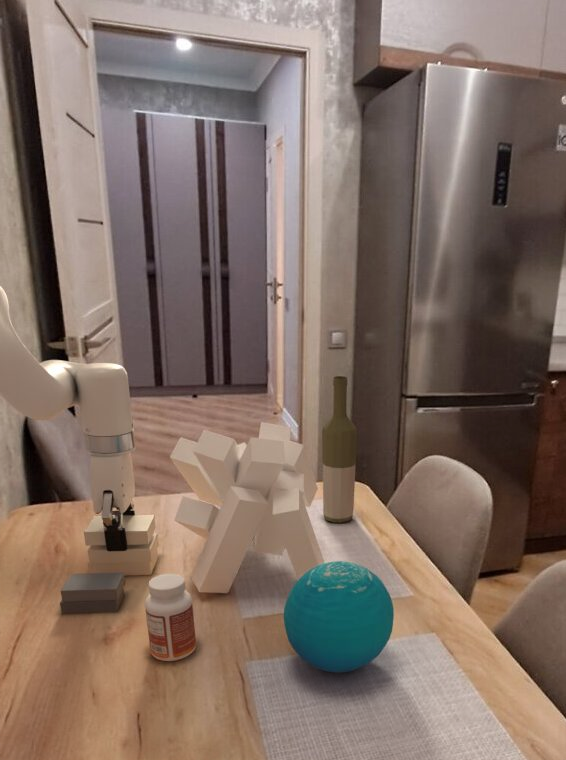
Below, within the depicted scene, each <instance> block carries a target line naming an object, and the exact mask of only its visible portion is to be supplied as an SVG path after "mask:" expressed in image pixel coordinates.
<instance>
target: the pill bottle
mask: <svg viewBox="0 0 566 760" xmlns="http://www.w3.org/2000/svg"><path fill="white" fill-rule="evenodd" d="M148 592H149V593H148V594H149V595H148V596H147V597H146V599H145V601H144V609H145V617H146V624H147V634H148V643H149V650H150V653H151V655H152V657H154V658H155V659H157V660H159V661H162V662H174V661H179V660H183V659H185V658H187V657H189V656H190V655H191V654H192V653H194V651H195V650H196V647H197V637H196V628H195V627H196V625H195V618H194V615H195V614H194V606H193V599H192V598H193V597H192V596H191V593H189V591H187V590H186V580H185V578H184V576H183V575H181V574H177V573H164V574H163V573H162V574H159V575H156V576H154V577H152V578H151V579H150V580H149V581H148Z"/></svg>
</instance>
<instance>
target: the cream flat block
mask: <svg viewBox="0 0 566 760" xmlns="http://www.w3.org/2000/svg"><path fill="white" fill-rule="evenodd" d="M113 518H115V519H116V520H117V522H118V516H115V515H113ZM156 527H157V526H156V516H155V514H135V515H124V516H123V528H125V532H126V540H127V545H138V544H149V542H150V540H151V537H152V535H153V533H155V530H156ZM83 537H84V543H85V544H84V545H85V547H87V546H88V547H89V546H93V545H106V542H105V534H104V528H103V520H102V515H94V516H93V518H92V519H91V520H90V522H89V523H88V525H87V527H86V528H85V530H83Z"/></svg>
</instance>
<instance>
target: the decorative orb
mask: <svg viewBox="0 0 566 760" xmlns="http://www.w3.org/2000/svg"><path fill="white" fill-rule="evenodd" d="M394 609H395V608H394V603H393V599H392V597H391V594H390V593H389V591H388V589H387V587H386V585H385V584H384V583H383V581H382V580H381V579H380V577H378V575H377V574H375V573H374V572H372V571H371V570H370V569H368V568H367V567H365V566H362V565H361V564H359V563H355V562H351V561H345V560H343V561H342V560H337V561H335V560H334V561H328V562H324V564H321V565H319V566H316V567H314V568H312V569H311V570H309V571H307V572H306V573H305V574H304V575H303V576H302V577H301V578H300V579H299V580H298V579H297V580H296V581H295V583H293V586H292V587H291V590H290V591H289V593H288V596H287V598H286V602H285V603H284V609H283V625H284V629H285V633H286V636H287V641H288V642H289V644H290V646H291V648H292V649H293V650H294V651H295V652H296V654H297V655H298V657H300V658H301V659H302V660H303V661H304V662H305V663H306V664H308V665H310V666H311V667H313V668H316V669H318V670H321V671H324V672H328V673H337V674H338V673H348V672H353V671H355V670H358V669H361V668H364V667H365V666H366V665H368V664H369V663H371V662H372V661H374V660H375V659H376V658H377V657H378V656H379V655H380V654H382V653H381V652H382V651H383V650H384V648H385V647H386V645H387V644H388V642H389V640H390V639H391V636H392V633H393V628H394V618H395V612H394Z"/></svg>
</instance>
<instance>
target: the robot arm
mask: <svg viewBox="0 0 566 760" xmlns="http://www.w3.org/2000/svg"><path fill="white" fill-rule="evenodd" d="M129 384H130V383H129V376H128V372H127V370H126V368H125V367H124V366H122V365H120V364H117V363H112V362H94V363H80V362H73V361H69V360H60V359H49V360H44V361H41V362H39V361H38V359H37V358H36V357H35V356H34V354H32V353H31V351H30V350H29V348H27V347H26V345H25V344H24V343H23V341H22V340H21V338H20V337H19V335H18V334H17V331H16V330H15V327H14V325H13V323H12V320H11V317H10V306H9V299H8V295H7V294H6V291H5V289H4V288H3V287H2V286H1V285H0V396H1V397H2V398H3V399H4V400H5V401H6V402H7V403H8V404H9V405H10V406H11V407H12V408H14V410H15V411H17V412H18V413H20V414H22V415H23V416H25V417H27V418H29V419H31V420H36V421H50V420H52V419H55V418H57V417H59V416H60V415H61V414H62V413H64V412H65V411H66V410H67V409H69V408H72V407H74V406H78V407H79V411H80V412H79V413H80V418H81V419H80V420H81V427H82V433H83V440H84V449H85V453H86V454H88V455H89V457H90V458H89V473H90V474H89V475H90V487H91V499H92V500H91V501H92V510H93V512H94V513H95V514H96V515H99V514H100V513H101V516H102V520H103V528H104V534H105V542H106V549H107V551H126V550H127V540H126V532H125V528H123V516H124V515H136V511H135V510H134V509H135V504H134V501H133V499H134V498H135V495H136V494H135V493H136V483H135V474H134V473H135V472H134V465H133V460H132V454H131V453H134V452H135V451H136V439H135V438H136V437H135V430H134V429H135V428H134V421H133V412H132V402H131V395H130V393H131V392H130V385H129ZM113 509H116V510H113ZM113 516H118V522H117V520H116V519H115V518H113Z"/></svg>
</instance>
